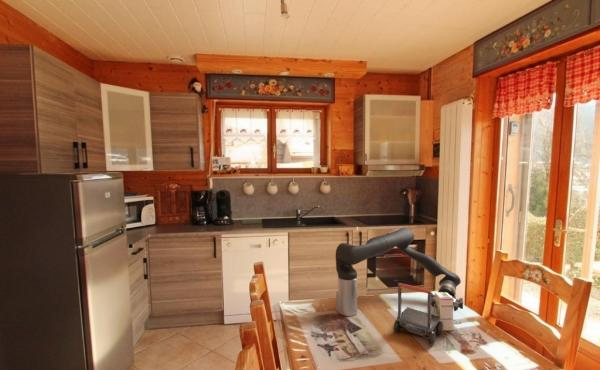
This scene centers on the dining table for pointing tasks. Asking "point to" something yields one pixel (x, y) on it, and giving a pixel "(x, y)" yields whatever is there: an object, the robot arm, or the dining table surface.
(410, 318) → the trolley
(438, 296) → the syrup box
